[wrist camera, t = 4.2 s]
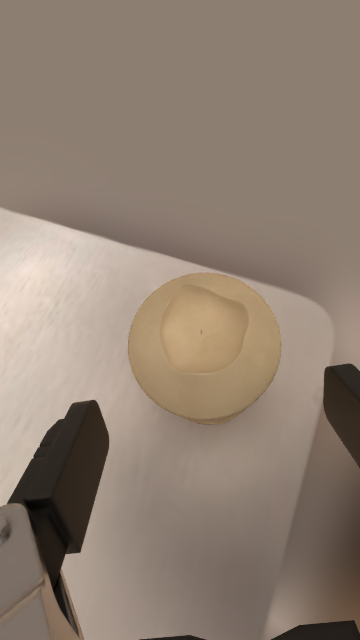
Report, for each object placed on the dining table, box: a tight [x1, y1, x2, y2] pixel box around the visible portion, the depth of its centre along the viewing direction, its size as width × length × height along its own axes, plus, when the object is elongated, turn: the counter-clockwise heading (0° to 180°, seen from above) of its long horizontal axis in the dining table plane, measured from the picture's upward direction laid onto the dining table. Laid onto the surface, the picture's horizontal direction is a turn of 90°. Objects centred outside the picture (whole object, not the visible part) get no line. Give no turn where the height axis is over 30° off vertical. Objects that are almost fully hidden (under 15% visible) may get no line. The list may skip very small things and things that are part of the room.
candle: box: [128, 273, 281, 425], centre depth 14 cm, size 6×6×10 cm
